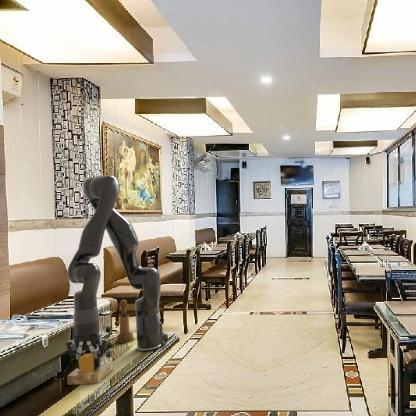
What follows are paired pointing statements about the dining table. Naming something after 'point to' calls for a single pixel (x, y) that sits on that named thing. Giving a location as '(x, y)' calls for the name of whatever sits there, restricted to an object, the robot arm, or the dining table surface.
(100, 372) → the wooden square tray
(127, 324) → the brown tall wooden piece
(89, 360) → the orange block
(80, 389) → the dining table surface
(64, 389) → the dining table surface
